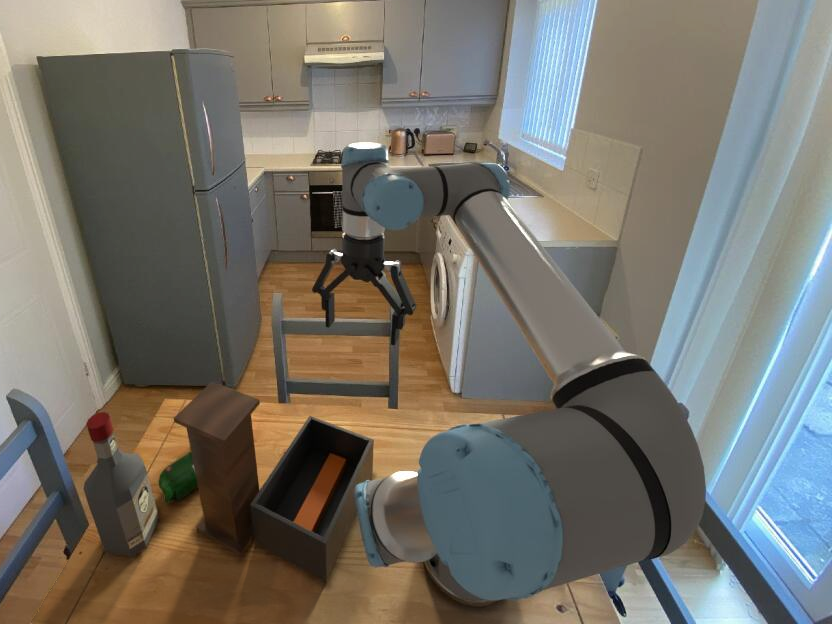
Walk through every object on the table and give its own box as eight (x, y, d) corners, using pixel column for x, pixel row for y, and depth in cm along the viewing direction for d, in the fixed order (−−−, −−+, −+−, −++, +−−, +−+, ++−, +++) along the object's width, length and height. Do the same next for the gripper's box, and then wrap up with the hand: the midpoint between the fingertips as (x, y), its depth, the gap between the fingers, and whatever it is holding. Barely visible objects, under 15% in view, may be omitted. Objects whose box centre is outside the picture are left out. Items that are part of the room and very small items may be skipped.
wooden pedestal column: (270, 510, 87) (259, 399, 76) (241, 557, 79) (224, 440, 67) (228, 489, 92) (211, 381, 80) (197, 531, 84) (173, 418, 72)
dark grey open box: (372, 475, 94) (373, 439, 90) (326, 583, 75) (325, 544, 71) (311, 450, 101) (309, 415, 96) (254, 543, 81) (249, 504, 77)
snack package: (234, 467, 97) (231, 450, 95) (168, 512, 87) (164, 494, 85) (219, 448, 102) (216, 432, 100) (155, 488, 92) (151, 471, 90)
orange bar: (346, 467, 95) (346, 459, 94) (305, 552, 79) (305, 544, 78) (330, 460, 97) (330, 452, 96) (287, 543, 80) (286, 534, 79)
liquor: (97, 555, 80) (55, 439, 68) (123, 508, 88) (89, 398, 77) (142, 560, 79) (107, 444, 67) (164, 513, 87) (136, 402, 76)
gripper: (439, 235, 72) (429, 337, 80) (311, 216, 83) (314, 308, 91) (428, 252, 66) (419, 361, 74) (292, 229, 76) (296, 326, 85)
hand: (361, 332), depth 83 cm, fingers open, 13 cm apart
